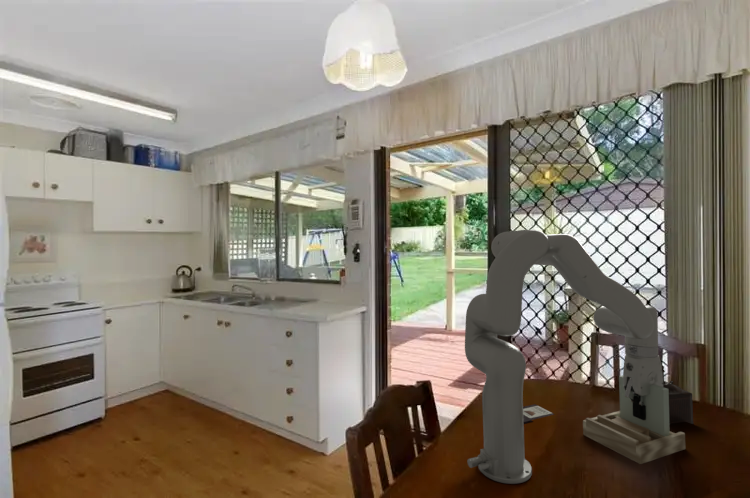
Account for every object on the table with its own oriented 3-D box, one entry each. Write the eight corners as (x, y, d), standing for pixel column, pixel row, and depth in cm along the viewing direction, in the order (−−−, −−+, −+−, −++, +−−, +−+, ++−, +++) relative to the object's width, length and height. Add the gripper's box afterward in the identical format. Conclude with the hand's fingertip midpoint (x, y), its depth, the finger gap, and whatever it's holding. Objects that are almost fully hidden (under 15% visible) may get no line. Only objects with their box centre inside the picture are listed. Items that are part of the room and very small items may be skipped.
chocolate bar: (491, 413, 123) (535, 404, 129) (491, 416, 123) (535, 406, 129) (509, 425, 115) (555, 414, 121) (509, 428, 115) (555, 417, 121)
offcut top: (641, 439, 98) (641, 432, 98) (610, 427, 106) (610, 419, 106) (649, 436, 100) (648, 429, 100) (618, 424, 107) (618, 417, 107)
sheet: (664, 447, 98) (663, 390, 98) (620, 428, 109) (619, 376, 109) (669, 446, 99) (668, 388, 99) (625, 426, 110) (623, 375, 110)
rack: (640, 468, 92) (639, 443, 92) (583, 438, 107) (582, 416, 107) (685, 452, 98) (684, 429, 98) (625, 426, 113) (624, 406, 113)
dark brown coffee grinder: (697, 424, 113) (695, 364, 113) (663, 428, 111) (661, 367, 111) (652, 403, 128) (650, 350, 128) (622, 406, 127) (621, 352, 126)
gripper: (635, 357, 98) (636, 428, 98) (675, 350, 103) (676, 417, 103) (608, 350, 105) (609, 416, 105) (646, 344, 110) (648, 407, 110)
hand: (642, 416), depth 104 cm, fingers closed on sheet, 2 cm apart
